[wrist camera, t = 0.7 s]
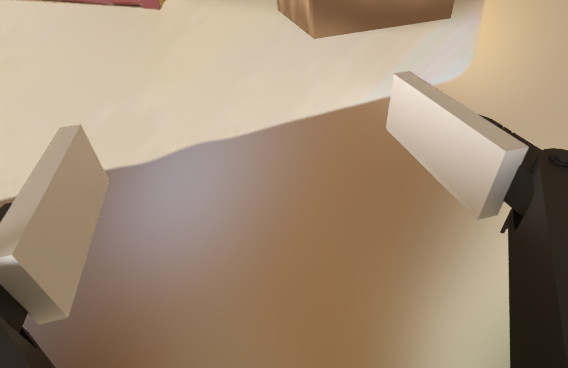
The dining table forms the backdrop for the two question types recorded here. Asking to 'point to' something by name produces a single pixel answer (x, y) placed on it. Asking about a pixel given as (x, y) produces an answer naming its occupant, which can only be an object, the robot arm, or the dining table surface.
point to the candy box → (113, 3)
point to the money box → (360, 14)
